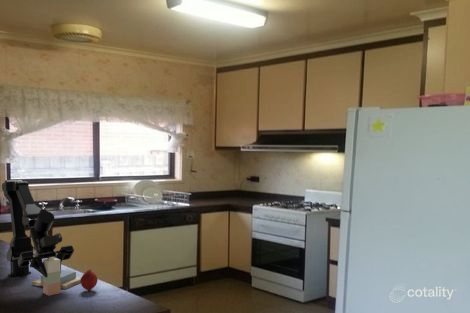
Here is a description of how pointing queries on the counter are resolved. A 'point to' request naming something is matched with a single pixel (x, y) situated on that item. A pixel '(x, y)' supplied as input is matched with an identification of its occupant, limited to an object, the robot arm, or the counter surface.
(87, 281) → the onion
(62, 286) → the board
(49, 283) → the brick column
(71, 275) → the base brick
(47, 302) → the counter surface
